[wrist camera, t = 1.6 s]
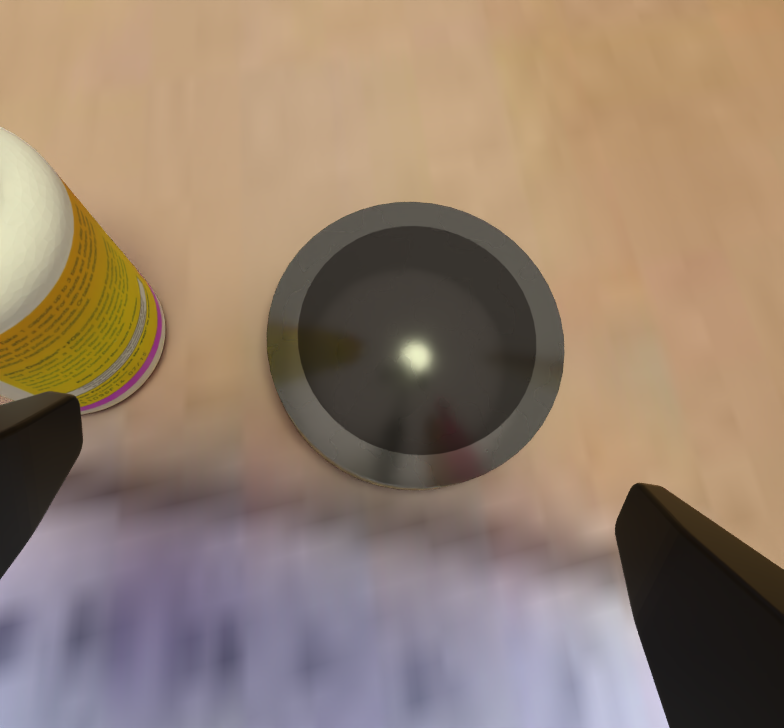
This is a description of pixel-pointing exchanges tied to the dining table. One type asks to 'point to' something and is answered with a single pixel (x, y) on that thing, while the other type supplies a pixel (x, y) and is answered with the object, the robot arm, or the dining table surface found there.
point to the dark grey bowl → (415, 345)
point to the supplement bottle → (67, 293)
